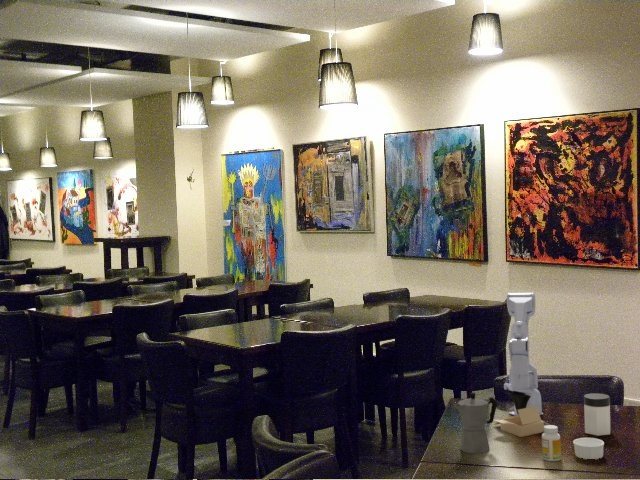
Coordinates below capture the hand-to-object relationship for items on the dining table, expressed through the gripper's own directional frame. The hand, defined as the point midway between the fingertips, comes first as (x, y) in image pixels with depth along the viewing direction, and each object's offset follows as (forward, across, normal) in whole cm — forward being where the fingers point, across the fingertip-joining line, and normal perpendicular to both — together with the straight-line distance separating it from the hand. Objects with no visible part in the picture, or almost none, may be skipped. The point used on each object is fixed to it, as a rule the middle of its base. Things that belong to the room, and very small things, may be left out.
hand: (521, 414), depth 271 cm
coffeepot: (+6, +7, -24) cm, 26 cm away
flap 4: (+2, 0, +5) cm, 5 cm away
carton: (+6, 0, 0) cm, 6 cm away
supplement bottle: (+6, +27, -12) cm, 30 cm away
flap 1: (+2, -5, 0) cm, 5 cm away
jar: (+6, +15, +19) cm, 25 cm away
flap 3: (+2, +5, 0) cm, 6 cm away
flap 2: (+2, 0, -5) cm, 5 cm away
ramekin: (+6, +31, -1) cm, 32 cm away
